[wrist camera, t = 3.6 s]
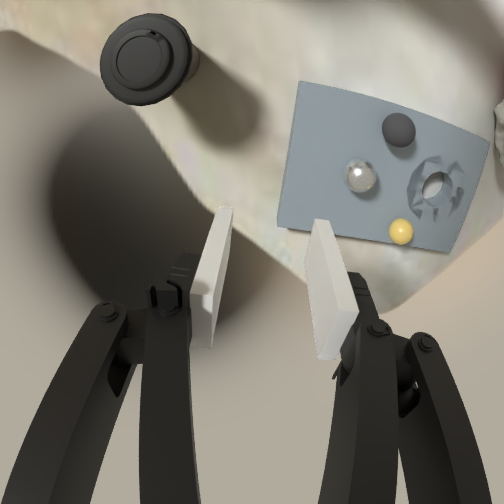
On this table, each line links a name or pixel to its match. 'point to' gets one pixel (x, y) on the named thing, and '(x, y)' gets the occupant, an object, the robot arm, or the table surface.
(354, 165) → the steel ball
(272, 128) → the table surface
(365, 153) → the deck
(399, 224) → the mustard ball
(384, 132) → the black ball
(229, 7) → the table surface
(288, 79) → the table surface
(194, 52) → the coffee cup
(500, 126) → the candle
